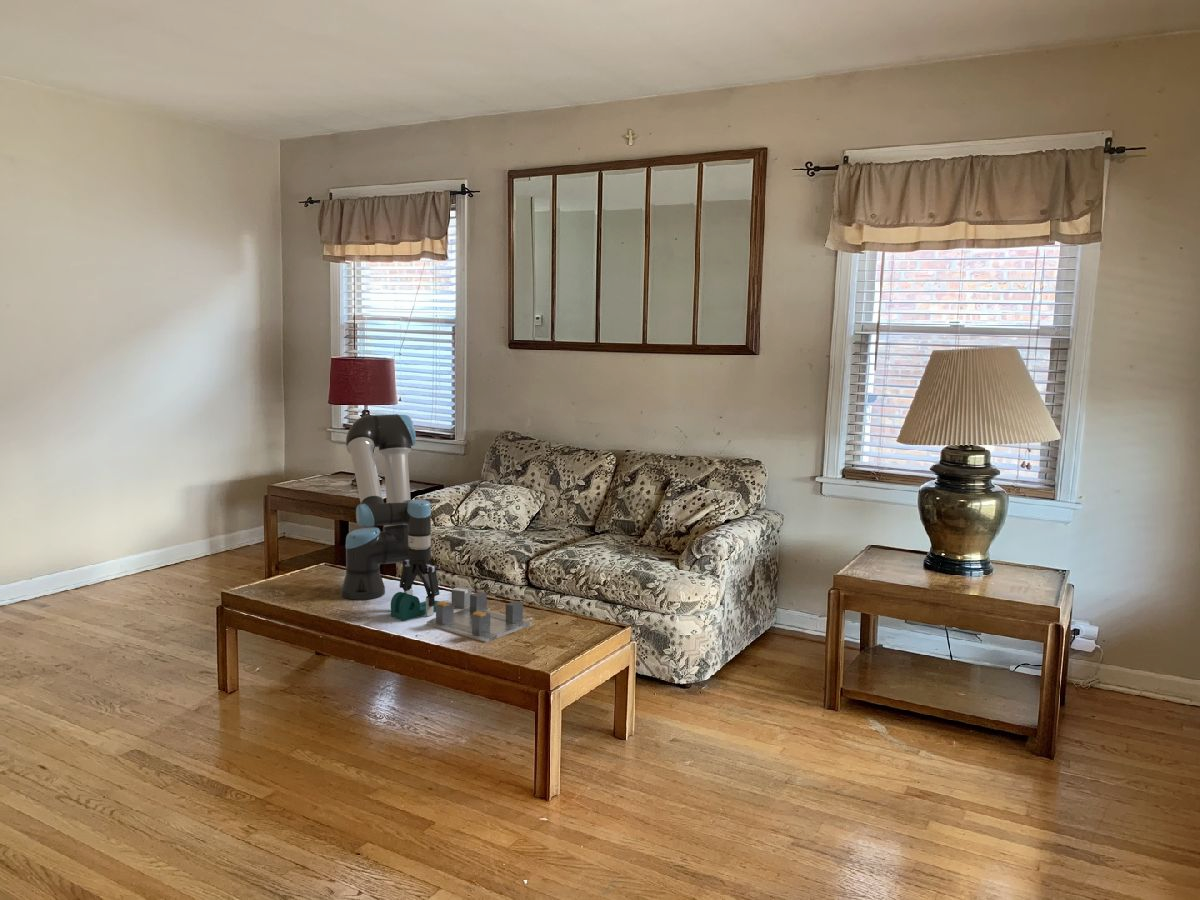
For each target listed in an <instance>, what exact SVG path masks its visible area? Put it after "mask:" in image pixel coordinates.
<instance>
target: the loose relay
mask: <svg viewBox="0 0 1200 900" xmlns="http://www.w3.org/2000/svg"><path fill="white" fill-rule="evenodd" d="M472 589H473V588H472V587H466V586H456V587H454V588H452V589H451V603H453V604H454V608H458V609H462V610H464V609H465V608H469V607H470V595H471V594H473V593H472Z"/></svg>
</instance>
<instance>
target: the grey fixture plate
mask: <svg viewBox="0 0 1200 900" xmlns="http://www.w3.org/2000/svg"><path fill="white" fill-rule="evenodd" d="M439 601H440V602H437V605H436V612H435V617H434V618H433V619H432V618H431V619H430V620H428V621H426V626H429V627H433V628H437V629H439V630H442V631H447V632H449V633H453V634H456V635H460V636H463V637H466V638H470V639H473V640H476V641H479V642H483V643H489V642H490V641H492V640H493V641H494V640H496V639H499V638H501V637H504V636H507V635H510V634H512V633H514V632H517V631H520V630H523V629H525V628H528V627H531V626H533V621H530V620H527V619H524V602H523V601H519V600H514V601H512V602H508V603H506V604H505V613H500V612H497V611H493V610H489V609H488V606H487V604H488V594H487V593H486V592H484V591H477V592H474V593H472V594H471V595H470V606H468V607H466V608H465V609H461V610H458V611H454V610H455V607H454V604H453V603H452V602H449V601H445V600H439Z"/></svg>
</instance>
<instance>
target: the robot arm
mask: <svg viewBox="0 0 1200 900" xmlns="http://www.w3.org/2000/svg"><path fill="white" fill-rule="evenodd" d="M416 437H417V436H416V429H415V425H414V423H413V420H412V418H411V417H410V416H409V415H406V414H398V413H396V414H367V415H363V416H361V417H359V418H358V419H356V420H355V421H354V422H353V423H352V424H351V426H350V427H349V429H348V431H347V434H346V437H345V445H346V450H347V453H348V454H350V455H351V462H352V465H353V471H354V477H355V481H356V486H357V487H356V488H357V492H358V496H359V501H360V502H359V503H360V504H358V505H357V506H356V507H355V520H356V523H357V525H358V526H359V527H362V528H357V529H354V530H352V531H350V532H349V533H347V535H346V537H345V547H344V548H345V575H344V580H343V584H342V585H341V589H340V594H341V597H343V598H345V599H348V600H356V601H357V600H360V601H361V600H372V599H377V598H380V597H382V596H384V595H385V593H386V587H385V584H384V581H383V577H382V575H381V569H380V568H381V567H380V566H381V565H387V564H388V565H389V564H399V563H401V564H402V569H401V576H400V580H399V588H400V589H402V590H403V592H404V593H407V594H409V595H413V596H414V593H413V592H414V590H413V584H414V582H415V579H416V577H417V575H418V576H419V577H420V579H422V583H423V586H424V588H425V591H426V592H425V593H426V595H427V596H425V601H426V615H425V617H431V616H434V613H433V606H434V605H435V602H434V601H436V600H435V597H436V596H439V595H440V589H439V584H438V583H439V582H438V577H437V566H436V565H431V564H430V561H429V560H430V559H431V557H432V555H431V553H432V552H431V551H432V550H431V544H432V543H431V542H432V537H431V536H432V535H431V532H432V530H431V527H432V525H431V524H432V523H431V522H432V520H431V519H432V508H431V503H430V501H428V500H425V499H411V487H410V474H409V473H410V472H409V470H410V469H409V458H408V455H409V454H410V453H411V452H412V447H414V446H415V445H416V442H417V441H416ZM375 447H376V448H378V453H380V455H381V456H383V463H384V464H383V466H384V468H383V469H384V479H385V480H384V481H385V482H384V483H385V484H384V485H385V496H386V498H385V500H386V502H384V498H383V497H384V496H383V493H382V488H381V483H380V478H379V474H378V470H377V465H376V459H375V455H374V449H375ZM380 526H383V530H382V531H381V530H380V528H379V527H380Z"/></svg>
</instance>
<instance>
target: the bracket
mask: <svg viewBox="0 0 1200 900" xmlns="http://www.w3.org/2000/svg"><path fill="white" fill-rule="evenodd" d="M390 600H391V601H390V617H391V618H394V619H397V620H400V621H403V622H405V621H409V620H413V619H416V618H419V617H423V616H426V600H425V601H421V602H420V599H419V597H418V596H417V595H414V594H413V595H409V594H407V593H404V591H398V592H396V593H395V594H394V595H393V596H392V598H391V599H390ZM440 601H441V600H435V601H434V602H435V605H434V606H433V614H435V613H436V605H437V602H440Z"/></svg>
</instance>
